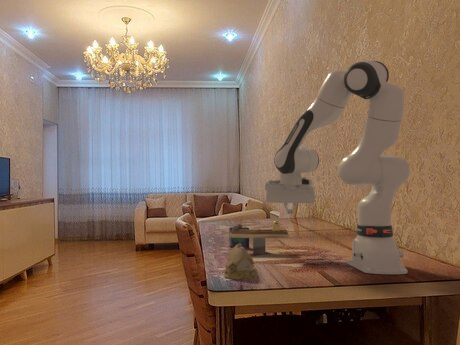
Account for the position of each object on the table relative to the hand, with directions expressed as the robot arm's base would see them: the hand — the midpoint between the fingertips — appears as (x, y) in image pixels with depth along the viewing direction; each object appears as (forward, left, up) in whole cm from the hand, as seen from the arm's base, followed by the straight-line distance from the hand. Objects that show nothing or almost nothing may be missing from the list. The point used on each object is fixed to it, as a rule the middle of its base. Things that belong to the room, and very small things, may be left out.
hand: (290, 213), depth 168 cm
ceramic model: (-39, +19, -17) cm, 46 cm away
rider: (0, +6, -8) cm, 10 cm away
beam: (0, +13, -16) cm, 21 cm away
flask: (+13, +22, -16) cm, 30 cm away
